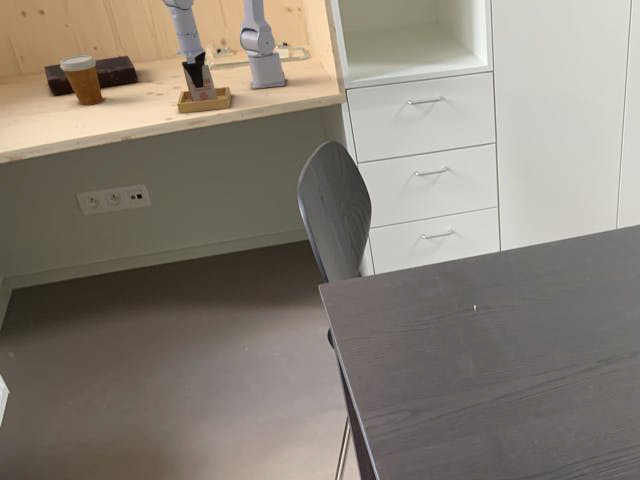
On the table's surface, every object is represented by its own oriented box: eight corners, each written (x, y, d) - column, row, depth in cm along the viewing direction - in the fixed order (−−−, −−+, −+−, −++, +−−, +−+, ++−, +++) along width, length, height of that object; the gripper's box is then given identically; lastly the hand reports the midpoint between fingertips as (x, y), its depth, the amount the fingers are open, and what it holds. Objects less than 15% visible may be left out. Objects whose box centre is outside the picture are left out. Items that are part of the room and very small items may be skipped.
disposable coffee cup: (74, 99, 236) (59, 57, 228) (108, 94, 238) (94, 53, 231) (73, 108, 228) (57, 65, 221) (108, 103, 231) (94, 60, 224)
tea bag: (193, 101, 228) (183, 66, 222) (217, 99, 229) (208, 63, 223) (192, 105, 225) (182, 69, 219) (217, 102, 226) (207, 66, 220)
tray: (231, 95, 233) (229, 86, 232) (229, 107, 224) (227, 98, 222) (183, 100, 231) (181, 91, 230) (179, 113, 221) (177, 104, 220)
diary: (139, 82, 248) (134, 66, 245) (53, 96, 239) (46, 79, 236) (131, 69, 261) (126, 53, 258) (49, 82, 252) (43, 65, 249)
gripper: (174, 28, 221) (188, 78, 229) (169, 40, 209) (183, 92, 218) (200, 25, 222) (213, 75, 230) (196, 37, 211) (210, 89, 219)
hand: (200, 83), depth 224 cm, fingers open, 7 cm apart
